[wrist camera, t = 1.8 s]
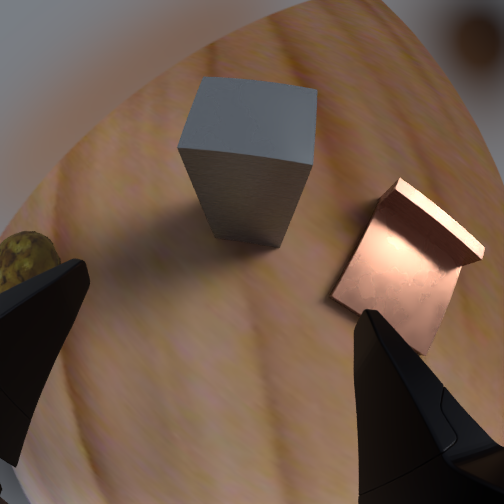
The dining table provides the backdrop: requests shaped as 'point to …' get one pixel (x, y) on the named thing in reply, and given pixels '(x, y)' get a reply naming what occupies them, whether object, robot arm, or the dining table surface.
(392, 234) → the plate
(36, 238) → the potato
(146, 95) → the dining table surface
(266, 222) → the block
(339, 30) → the dining table surface
